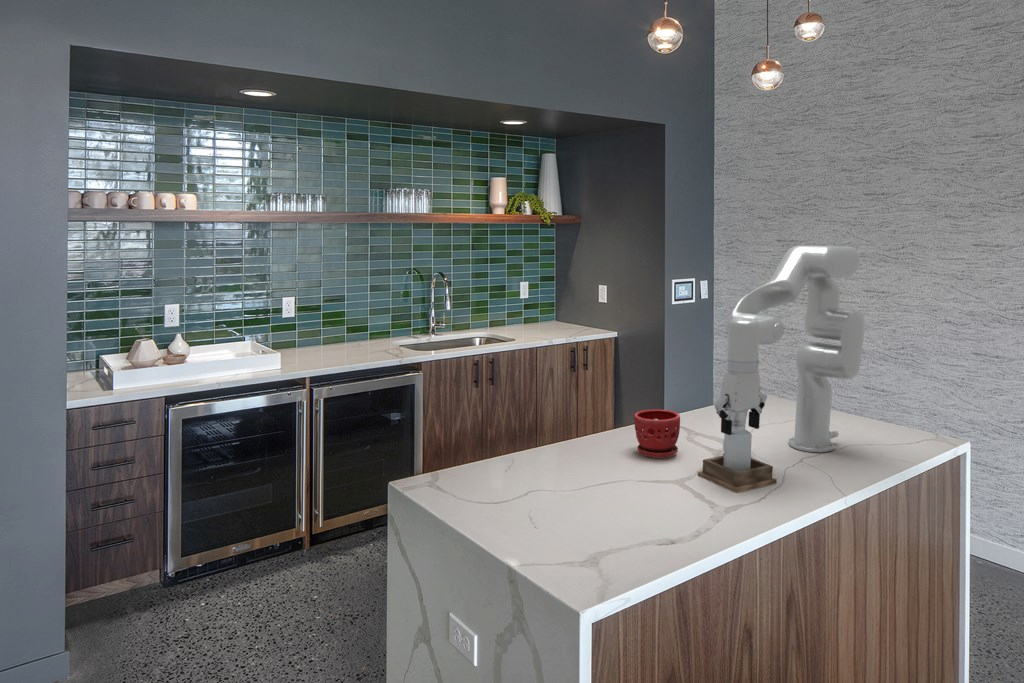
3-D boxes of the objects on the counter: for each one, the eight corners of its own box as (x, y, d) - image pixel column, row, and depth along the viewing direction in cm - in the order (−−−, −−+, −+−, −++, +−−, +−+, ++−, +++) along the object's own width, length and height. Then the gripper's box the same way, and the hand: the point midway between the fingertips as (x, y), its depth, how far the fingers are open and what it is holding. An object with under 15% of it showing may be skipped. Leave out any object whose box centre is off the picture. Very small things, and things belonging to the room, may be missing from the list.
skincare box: (745, 472, 190) (747, 428, 188) (750, 478, 186) (753, 433, 184) (721, 472, 190) (723, 428, 188) (727, 478, 186) (729, 434, 184)
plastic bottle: (747, 459, 204) (751, 391, 201) (723, 457, 205) (726, 390, 202) (745, 452, 210) (748, 385, 207) (721, 450, 212) (724, 384, 208)
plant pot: (675, 447, 215) (677, 408, 213) (681, 461, 203) (683, 420, 201) (632, 445, 217) (633, 407, 215) (635, 460, 204) (636, 419, 202)
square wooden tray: (736, 467, 198) (737, 451, 197) (776, 483, 185) (777, 466, 185) (697, 475, 191) (698, 459, 190) (736, 492, 179) (737, 475, 178)
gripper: (756, 360, 191) (753, 421, 194) (706, 367, 183) (704, 432, 186) (778, 365, 184) (775, 429, 187) (727, 373, 176) (725, 440, 179)
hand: (740, 430), depth 186 cm, fingers open, 9 cm apart
